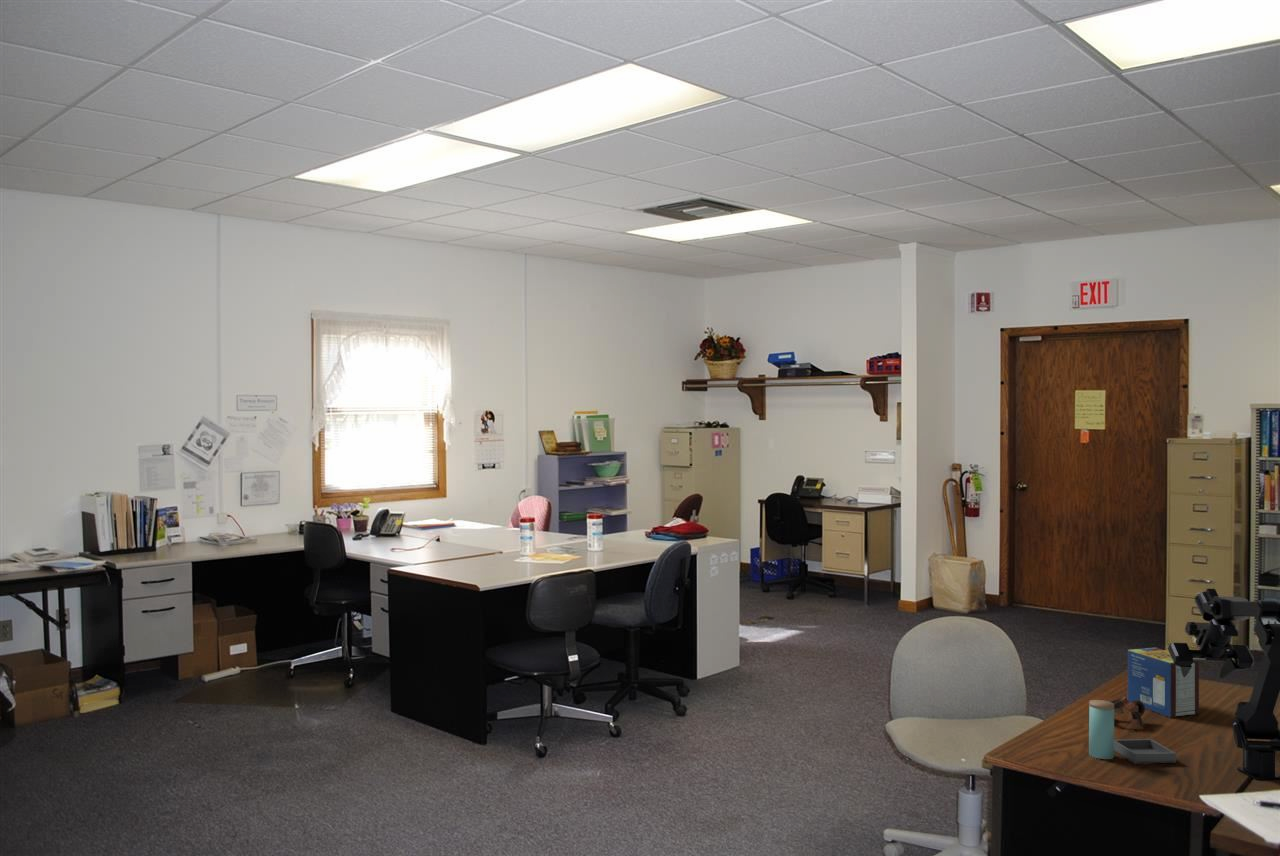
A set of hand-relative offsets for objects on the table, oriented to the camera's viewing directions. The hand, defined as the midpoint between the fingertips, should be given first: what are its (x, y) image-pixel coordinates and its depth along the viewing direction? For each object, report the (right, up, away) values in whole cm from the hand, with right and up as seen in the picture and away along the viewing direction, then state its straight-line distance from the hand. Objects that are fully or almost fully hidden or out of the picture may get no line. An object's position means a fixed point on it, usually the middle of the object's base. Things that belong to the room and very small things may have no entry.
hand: (1202, 676), depth 253 cm
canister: (-35, -15, -17) cm, 42 cm away
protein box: (+1, -15, +21) cm, 26 cm away
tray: (-25, -15, -18) cm, 34 cm away
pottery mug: (-16, -15, +7) cm, 23 cm away
